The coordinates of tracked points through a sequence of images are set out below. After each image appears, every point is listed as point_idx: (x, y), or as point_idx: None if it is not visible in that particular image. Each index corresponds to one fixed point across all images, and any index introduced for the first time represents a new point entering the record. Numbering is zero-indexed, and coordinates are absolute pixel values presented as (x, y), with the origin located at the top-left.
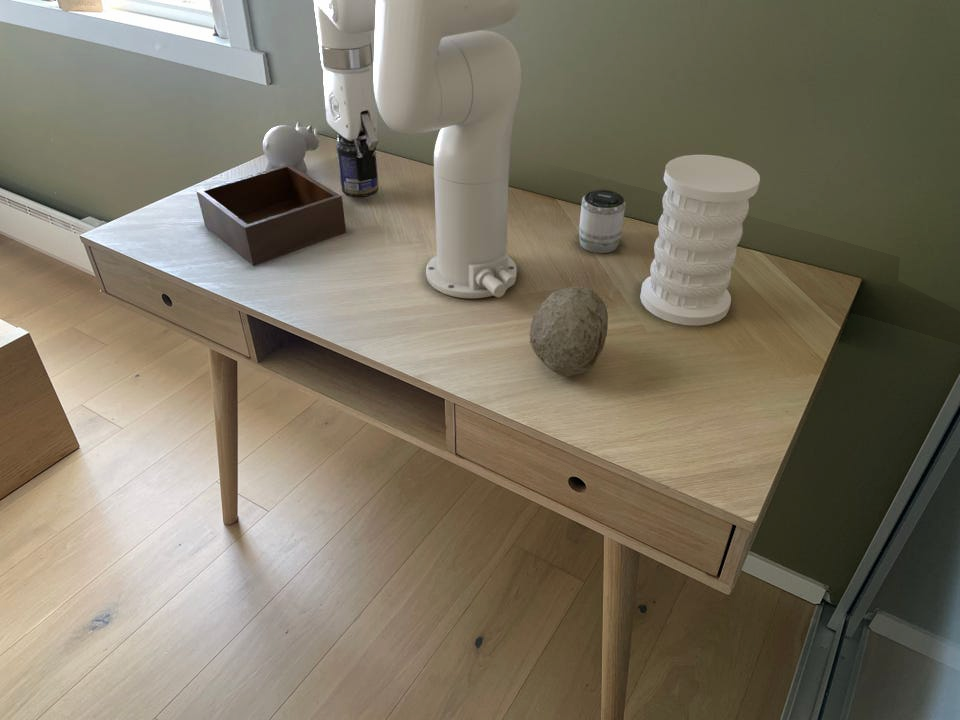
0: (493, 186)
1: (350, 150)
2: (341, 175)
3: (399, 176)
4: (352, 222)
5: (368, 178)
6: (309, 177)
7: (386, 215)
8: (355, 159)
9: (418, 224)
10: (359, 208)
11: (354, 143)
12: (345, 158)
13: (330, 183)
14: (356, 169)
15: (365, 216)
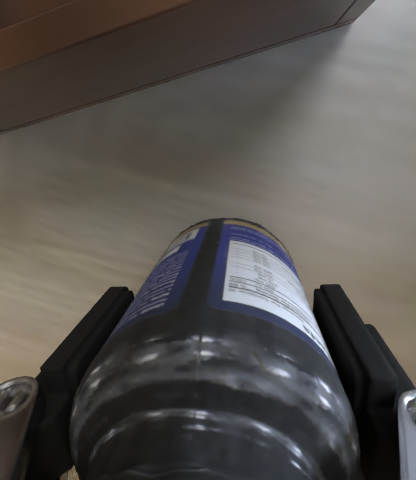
0: None
1: (82, 389)
2: (209, 242)
3: None
4: (62, 178)
5: None
6: (116, 14)
7: (79, 283)
8: (63, 356)
9: (7, 328)
10: (151, 233)
11: (3, 475)
12: (134, 315)
13: (402, 216)
14: (96, 315)
15: (91, 229)
